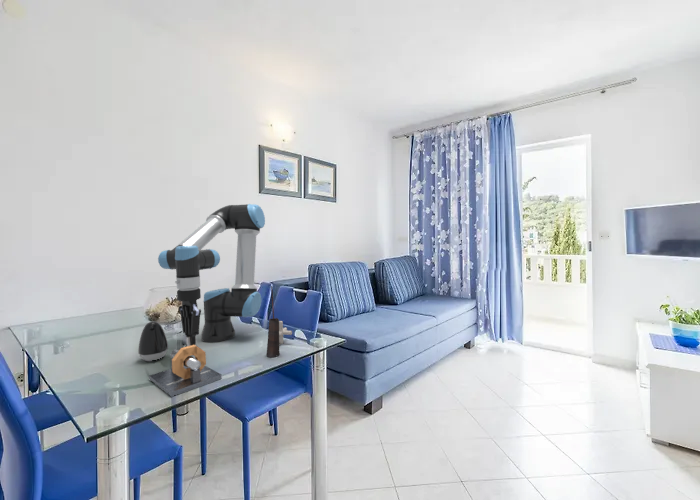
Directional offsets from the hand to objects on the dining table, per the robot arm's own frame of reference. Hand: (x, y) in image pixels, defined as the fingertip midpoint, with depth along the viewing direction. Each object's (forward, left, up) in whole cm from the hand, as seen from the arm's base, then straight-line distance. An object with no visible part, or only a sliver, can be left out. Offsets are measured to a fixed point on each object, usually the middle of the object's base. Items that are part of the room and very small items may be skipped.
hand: (191, 353), depth 116 cm
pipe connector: (+2, +38, -7) cm, 39 cm away
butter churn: (+12, +27, -7) cm, 30 cm away
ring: (+9, -5, -4) cm, 11 cm away
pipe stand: (+5, -5, -6) cm, 10 cm away
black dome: (-24, -5, -7) cm, 25 cm away
